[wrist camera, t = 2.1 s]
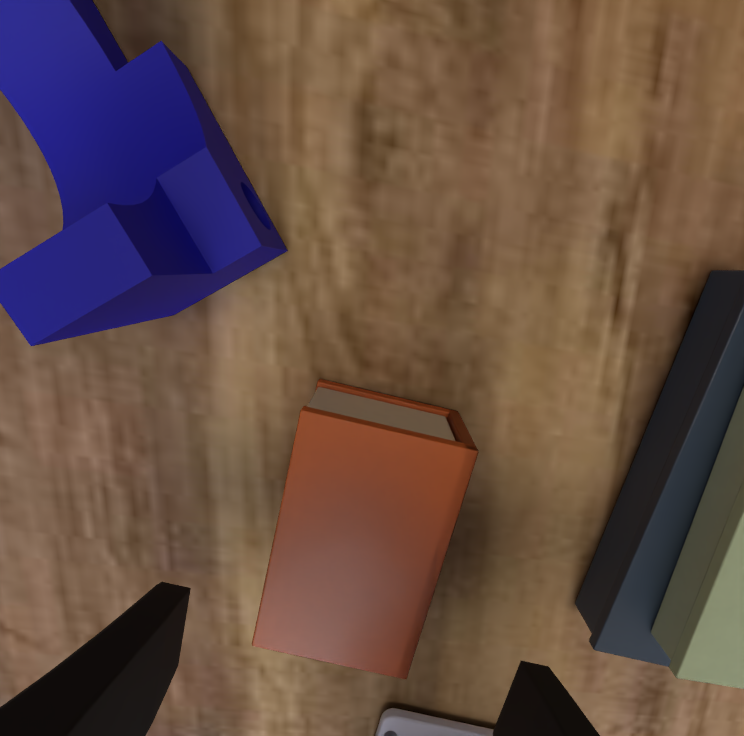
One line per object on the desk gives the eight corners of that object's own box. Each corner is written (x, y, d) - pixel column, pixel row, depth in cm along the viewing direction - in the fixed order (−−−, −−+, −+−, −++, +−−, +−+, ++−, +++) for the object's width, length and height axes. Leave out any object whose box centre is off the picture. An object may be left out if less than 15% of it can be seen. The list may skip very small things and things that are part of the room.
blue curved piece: (287, 250, 14) (217, 237, 8) (173, 314, 14) (31, 346, 9) (66, -152, 12) (-254, -577, 6) (-58, -57, 12) (-462, -355, 6)
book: (402, 599, 17) (406, 680, 13) (277, 571, 17) (251, 646, 13) (458, 411, 15) (479, 451, 12) (319, 378, 15) (300, 409, 12)
